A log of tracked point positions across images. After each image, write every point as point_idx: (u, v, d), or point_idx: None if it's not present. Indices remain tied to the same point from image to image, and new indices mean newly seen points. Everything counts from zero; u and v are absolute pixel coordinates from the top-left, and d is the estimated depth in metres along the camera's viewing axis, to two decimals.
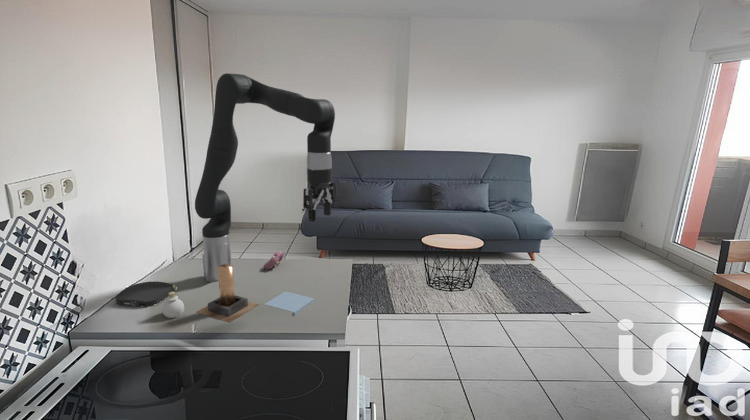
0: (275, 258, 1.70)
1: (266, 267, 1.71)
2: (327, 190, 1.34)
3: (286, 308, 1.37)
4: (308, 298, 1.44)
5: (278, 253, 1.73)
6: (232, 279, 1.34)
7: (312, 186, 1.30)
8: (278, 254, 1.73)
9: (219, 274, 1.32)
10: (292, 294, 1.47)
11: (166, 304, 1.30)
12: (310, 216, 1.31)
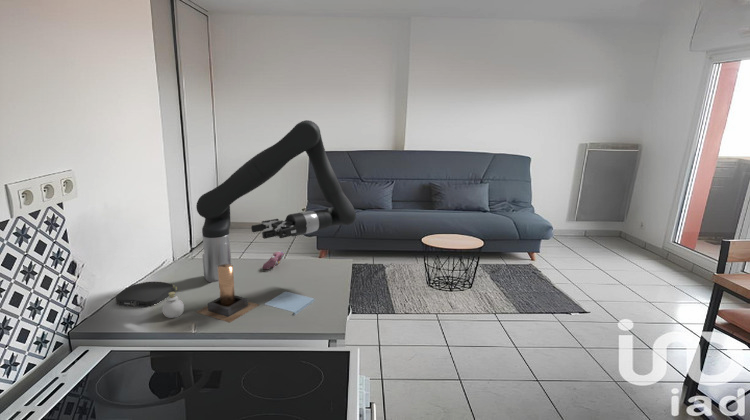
0: (274, 258, 1.70)
1: (265, 267, 1.71)
2: None
3: (286, 308, 1.37)
4: (308, 298, 1.44)
5: (277, 253, 1.73)
6: (232, 279, 1.34)
7: None
8: (277, 254, 1.73)
9: (219, 274, 1.32)
10: (292, 294, 1.47)
11: (166, 304, 1.30)
12: (268, 234, 1.35)
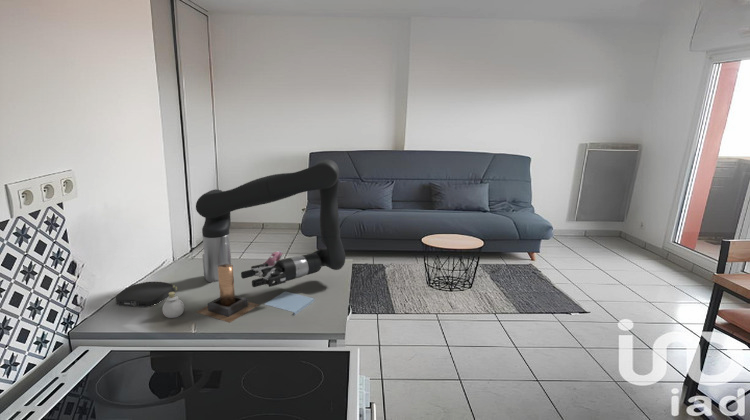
0: (273, 258, 1.70)
1: None
2: None
3: (286, 308, 1.37)
4: (308, 298, 1.44)
5: (276, 253, 1.73)
6: (232, 279, 1.34)
7: (282, 275, 1.43)
8: (276, 254, 1.73)
9: (219, 274, 1.32)
10: (292, 294, 1.47)
11: (166, 304, 1.30)
12: (258, 283, 1.36)
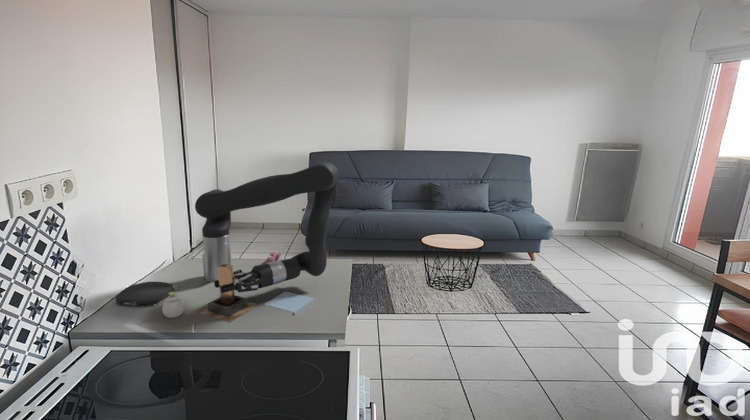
0: (271, 258, 1.70)
1: None
2: None
3: (286, 308, 1.37)
4: (308, 298, 1.44)
5: (274, 253, 1.73)
6: (232, 279, 1.34)
7: (258, 281, 1.37)
8: (274, 254, 1.73)
9: (219, 274, 1.32)
10: (292, 294, 1.47)
11: (166, 304, 1.30)
12: (227, 288, 1.32)
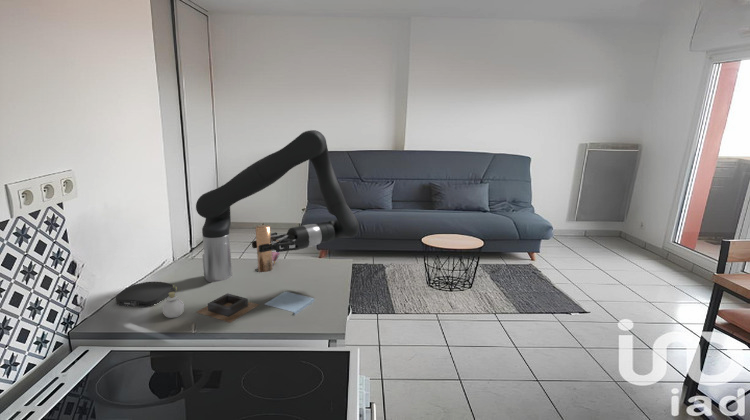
0: None
1: None
2: None
3: (286, 308, 1.37)
4: (308, 298, 1.44)
5: (273, 253, 1.73)
6: (269, 239, 1.34)
7: (295, 242, 1.38)
8: (273, 254, 1.73)
9: (257, 233, 1.32)
10: (292, 294, 1.47)
11: (166, 304, 1.30)
12: (265, 248, 1.32)
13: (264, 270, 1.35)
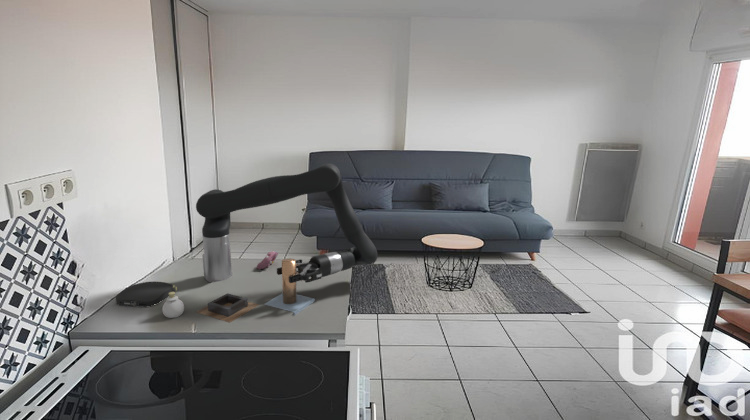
0: (268, 258, 1.70)
1: (259, 267, 1.71)
2: None
3: (286, 308, 1.37)
4: (308, 298, 1.44)
5: (271, 253, 1.73)
6: (295, 273, 1.40)
7: (318, 271, 1.42)
8: (271, 254, 1.73)
9: (283, 267, 1.38)
10: None
11: (166, 304, 1.30)
12: (295, 279, 1.36)
13: (289, 302, 1.40)
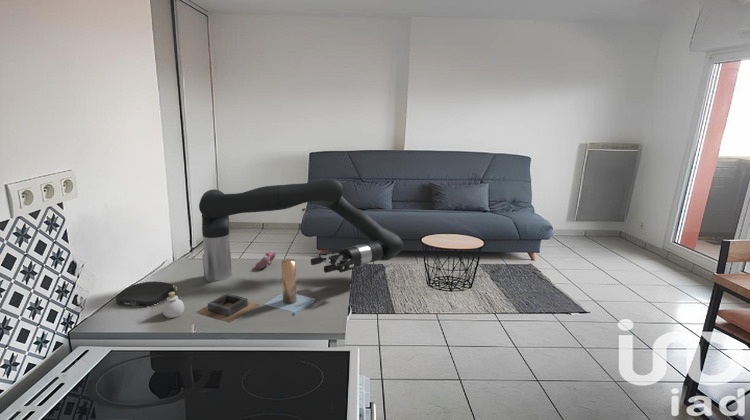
0: (267, 258, 1.70)
1: (257, 267, 1.71)
2: None
3: (286, 308, 1.37)
4: (308, 298, 1.44)
5: (270, 253, 1.73)
6: (295, 273, 1.39)
7: (349, 262, 1.50)
8: (270, 254, 1.73)
9: (283, 267, 1.38)
10: None
11: (166, 304, 1.30)
12: (330, 268, 1.44)
13: (289, 302, 1.40)
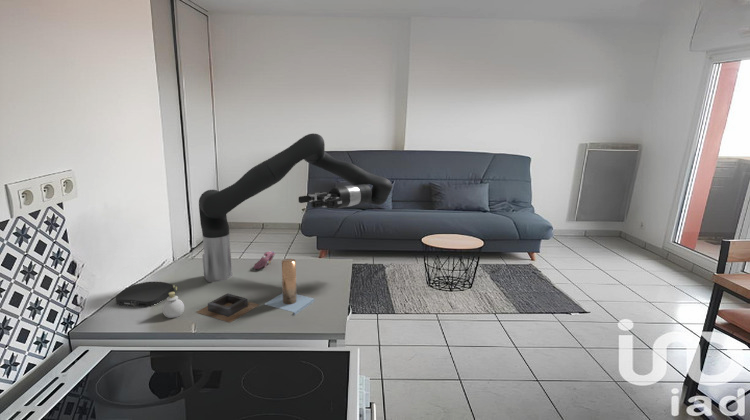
0: (265, 258, 1.71)
1: (256, 267, 1.71)
2: None
3: (286, 308, 1.37)
4: (308, 298, 1.44)
5: (268, 253, 1.73)
6: (295, 273, 1.39)
7: None
8: (268, 254, 1.73)
9: (283, 268, 1.37)
10: None
11: (166, 304, 1.30)
12: (317, 204, 1.42)
13: (289, 302, 1.40)
